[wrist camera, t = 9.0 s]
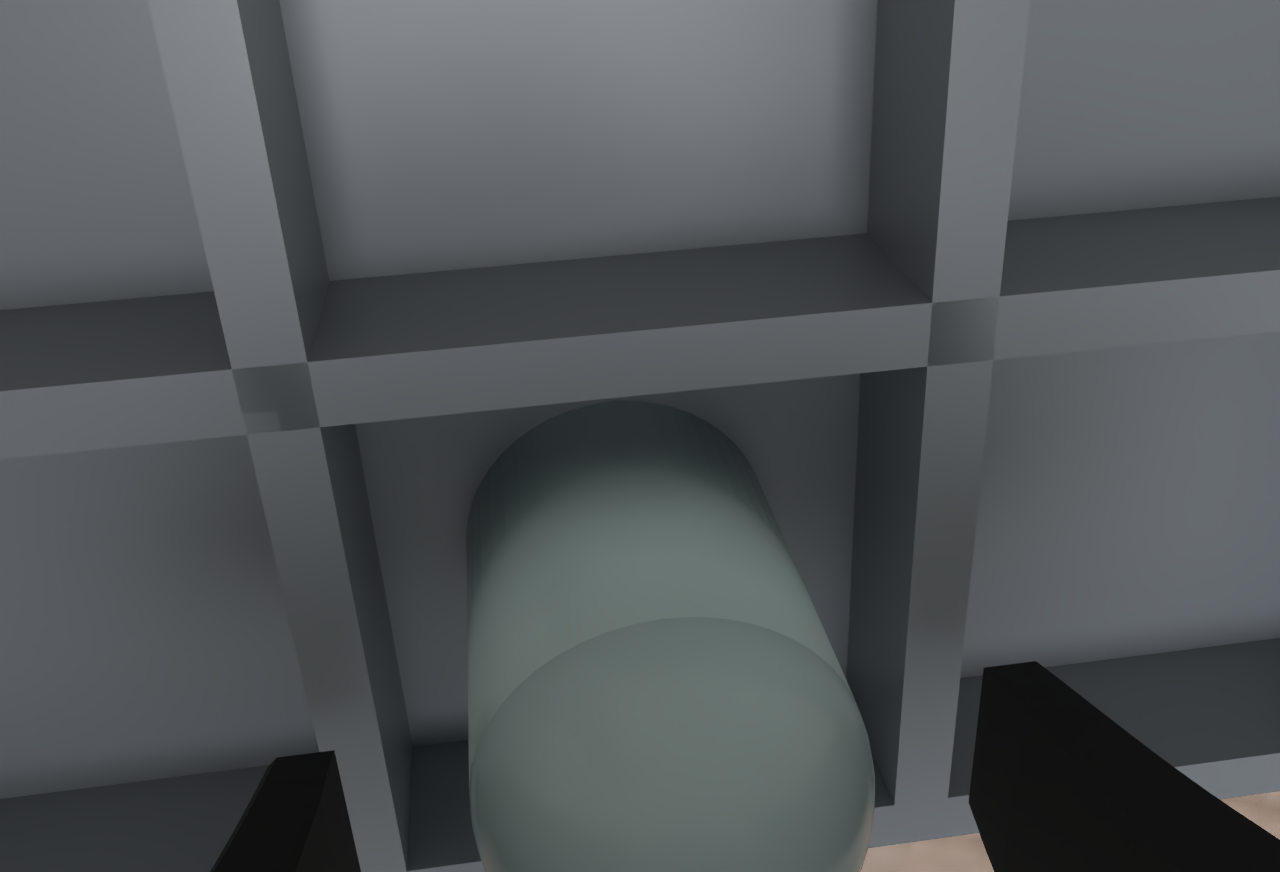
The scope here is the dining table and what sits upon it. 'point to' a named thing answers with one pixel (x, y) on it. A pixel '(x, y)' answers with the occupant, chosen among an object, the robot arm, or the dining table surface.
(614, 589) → the sage green capsule
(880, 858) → the dining table surface
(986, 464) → the tray
